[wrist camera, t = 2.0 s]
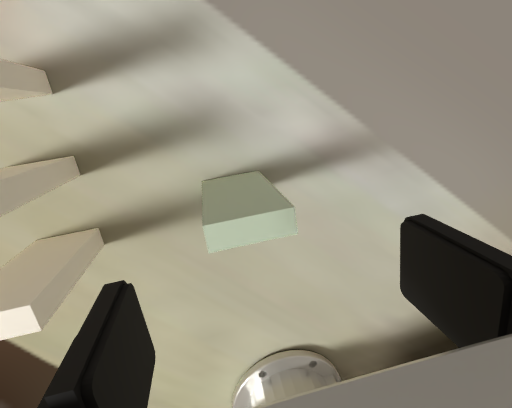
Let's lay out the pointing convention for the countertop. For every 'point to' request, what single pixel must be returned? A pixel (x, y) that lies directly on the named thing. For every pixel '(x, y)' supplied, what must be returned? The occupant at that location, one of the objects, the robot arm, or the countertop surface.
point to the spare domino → (244, 211)
